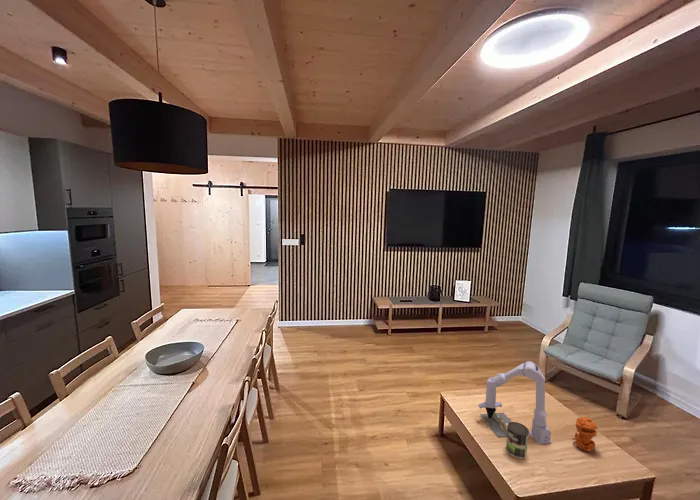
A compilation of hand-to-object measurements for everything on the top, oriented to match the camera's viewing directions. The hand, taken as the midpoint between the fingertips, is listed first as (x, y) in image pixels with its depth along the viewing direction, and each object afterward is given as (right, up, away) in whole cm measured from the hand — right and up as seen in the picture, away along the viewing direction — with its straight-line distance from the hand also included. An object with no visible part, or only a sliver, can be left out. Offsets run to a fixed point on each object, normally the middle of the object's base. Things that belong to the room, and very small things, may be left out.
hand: (489, 417), depth 193 cm
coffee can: (+3, -5, -25) cm, 26 cm away
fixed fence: (+5, -3, -9) cm, 10 cm away
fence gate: (+4, -1, 0) cm, 4 cm away
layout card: (+5, -2, -4) cm, 7 cm away
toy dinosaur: (+43, -5, -22) cm, 49 cm away
